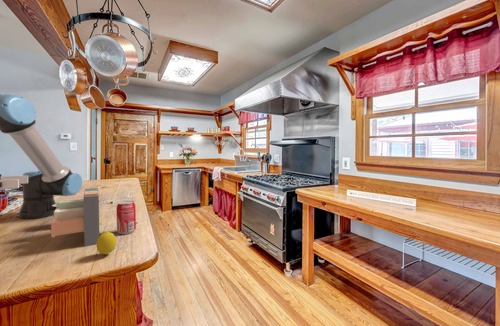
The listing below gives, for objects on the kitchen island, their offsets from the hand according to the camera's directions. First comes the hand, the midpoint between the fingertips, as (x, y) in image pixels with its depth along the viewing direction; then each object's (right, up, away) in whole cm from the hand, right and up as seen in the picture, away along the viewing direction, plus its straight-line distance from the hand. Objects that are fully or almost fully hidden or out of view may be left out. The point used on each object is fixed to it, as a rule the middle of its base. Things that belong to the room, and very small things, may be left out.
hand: (23, 181), depth 74 cm
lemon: (+26, -25, +2) cm, 36 cm away
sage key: (+3, -14, +20) cm, 24 cm away
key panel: (+10, -24, +17) cm, 31 cm away
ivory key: (+7, -17, +14) cm, 23 cm away
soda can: (+21, -24, +22) cm, 39 cm away
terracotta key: (+10, -19, +8) cm, 23 cm away
